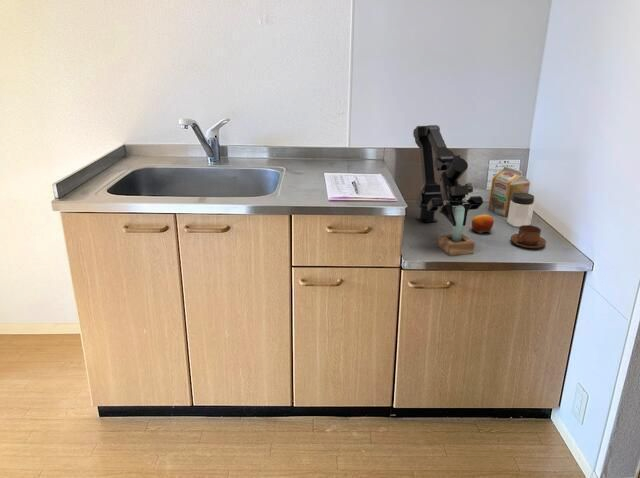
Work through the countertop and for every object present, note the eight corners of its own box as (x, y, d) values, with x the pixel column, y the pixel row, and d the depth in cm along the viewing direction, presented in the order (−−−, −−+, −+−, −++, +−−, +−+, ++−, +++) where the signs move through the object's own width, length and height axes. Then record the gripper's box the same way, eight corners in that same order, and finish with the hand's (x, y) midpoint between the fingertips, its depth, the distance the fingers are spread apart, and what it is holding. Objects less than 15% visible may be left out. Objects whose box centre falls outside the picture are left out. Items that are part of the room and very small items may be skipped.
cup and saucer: (541, 253, 173) (544, 237, 171) (506, 246, 179) (508, 230, 177) (547, 242, 183) (550, 227, 180) (514, 235, 189) (516, 220, 186)
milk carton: (524, 214, 211) (532, 170, 203) (504, 217, 207) (511, 173, 200) (507, 206, 220) (514, 164, 212) (488, 209, 216) (494, 167, 209)
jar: (523, 229, 194) (528, 200, 190) (503, 223, 200) (508, 195, 195) (533, 223, 200) (538, 195, 195) (514, 218, 206) (518, 190, 201)
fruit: (481, 234, 186) (477, 213, 187) (470, 237, 193) (466, 217, 194) (500, 232, 188) (496, 211, 189) (488, 235, 195) (484, 215, 196)
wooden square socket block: (437, 245, 179) (438, 235, 178) (459, 243, 181) (461, 233, 180) (450, 255, 171) (451, 245, 170) (473, 252, 173) (474, 242, 172)
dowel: (450, 239, 177) (454, 203, 171) (459, 240, 177) (464, 203, 171) (452, 243, 174) (456, 206, 168) (461, 243, 174) (466, 206, 168)
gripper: (432, 175, 168) (441, 217, 163) (484, 173, 171) (494, 214, 165) (423, 191, 179) (431, 230, 173) (472, 189, 181) (481, 228, 175)
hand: (459, 225), depth 171 cm, fingers closed on dowel, 3 cm apart
